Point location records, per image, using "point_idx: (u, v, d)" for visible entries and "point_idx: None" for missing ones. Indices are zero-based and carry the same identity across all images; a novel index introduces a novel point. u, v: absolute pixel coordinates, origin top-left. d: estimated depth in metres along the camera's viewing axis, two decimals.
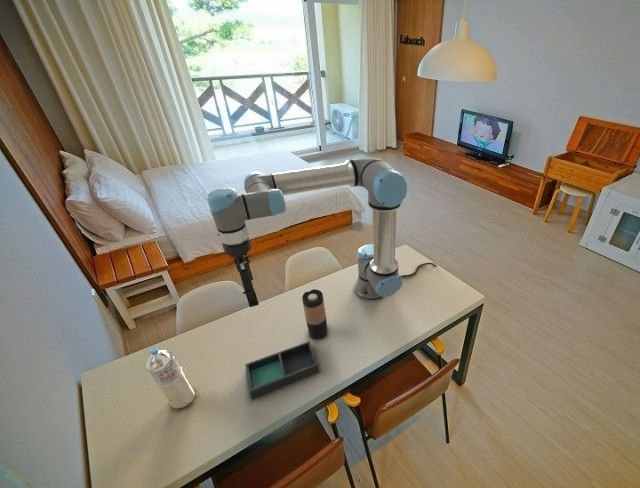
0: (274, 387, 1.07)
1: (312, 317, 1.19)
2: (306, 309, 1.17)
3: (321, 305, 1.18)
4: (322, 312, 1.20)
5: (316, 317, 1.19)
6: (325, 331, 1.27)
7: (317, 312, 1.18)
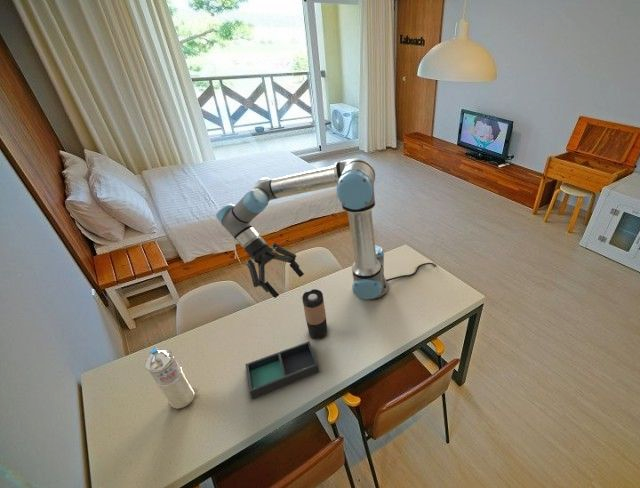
0: (274, 387, 1.07)
1: (312, 317, 1.19)
2: (306, 309, 1.17)
3: (321, 305, 1.18)
4: (322, 312, 1.20)
5: (316, 317, 1.19)
6: (325, 331, 1.27)
7: (317, 312, 1.18)
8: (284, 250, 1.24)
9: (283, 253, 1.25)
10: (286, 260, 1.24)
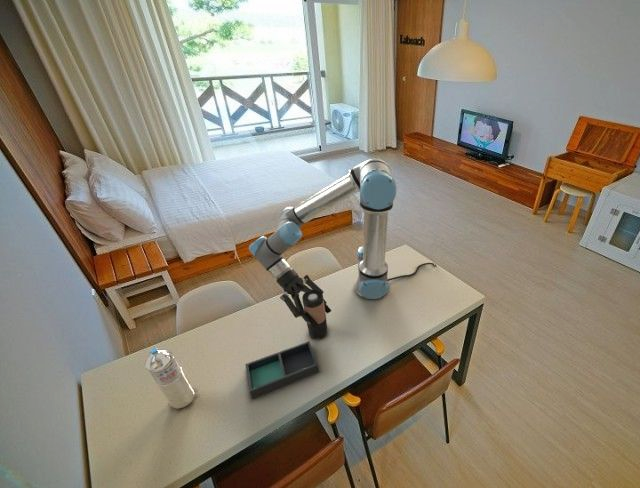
0: (274, 387, 1.07)
1: (312, 317, 1.19)
2: (306, 309, 1.17)
3: (321, 305, 1.18)
4: (322, 312, 1.20)
5: (316, 317, 1.19)
6: (325, 331, 1.27)
7: (317, 312, 1.18)
8: (313, 284, 1.24)
9: (311, 287, 1.25)
10: None
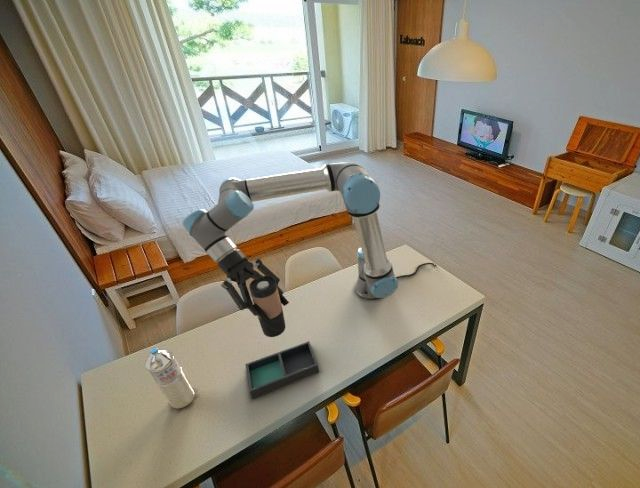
0: (274, 387, 1.07)
1: (262, 309, 0.96)
2: (254, 299, 0.95)
3: (273, 295, 0.96)
4: (275, 304, 0.97)
5: (267, 310, 0.97)
6: (282, 327, 1.04)
7: (268, 304, 0.96)
8: (267, 270, 1.02)
9: (265, 273, 1.03)
10: None
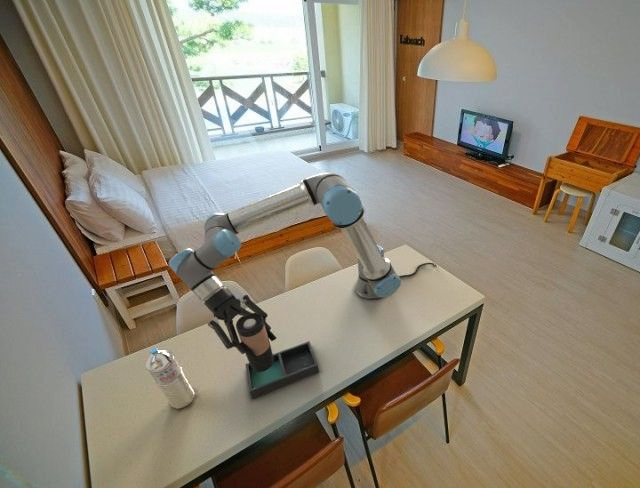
0: (274, 387, 1.07)
1: (249, 347, 0.97)
2: (241, 338, 0.95)
3: (260, 333, 0.96)
4: (262, 341, 0.98)
5: (254, 348, 0.97)
6: (270, 362, 1.05)
7: (255, 342, 0.96)
8: (254, 306, 1.02)
9: (253, 309, 1.03)
10: None
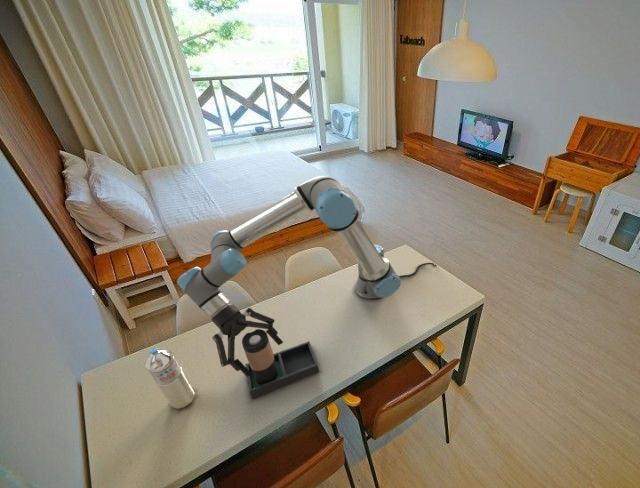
0: (274, 387, 1.07)
1: (254, 362, 1.01)
2: (247, 354, 0.99)
3: (265, 349, 1.00)
4: (266, 356, 1.02)
5: (259, 363, 1.01)
6: (274, 376, 1.09)
7: (260, 358, 1.00)
8: (260, 315, 1.07)
9: (259, 318, 1.08)
10: (262, 327, 1.07)
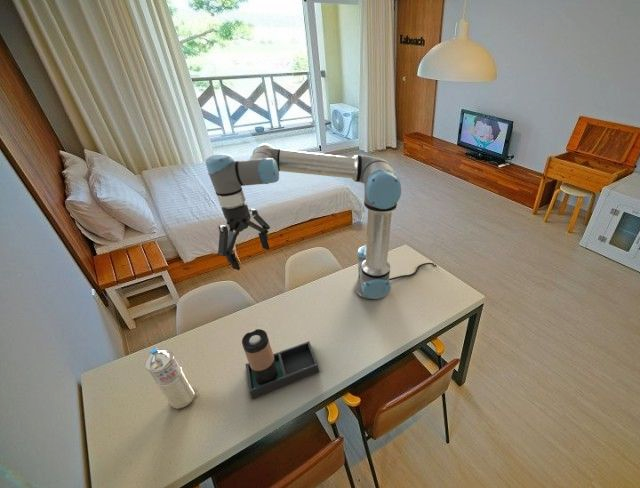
0: (274, 387, 1.07)
1: (254, 362, 1.01)
2: (247, 354, 0.99)
3: (265, 349, 1.00)
4: (266, 356, 1.02)
5: (259, 363, 1.01)
6: (274, 376, 1.09)
7: (260, 358, 1.00)
8: (261, 220, 1.12)
9: (258, 221, 1.13)
10: (258, 230, 1.13)
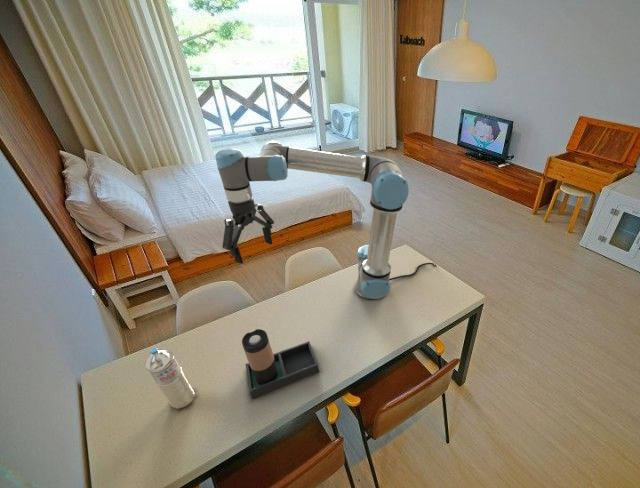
0: (274, 387, 1.07)
1: (254, 362, 1.01)
2: (247, 354, 0.99)
3: (265, 349, 1.00)
4: (266, 356, 1.02)
5: (259, 363, 1.01)
6: (274, 376, 1.09)
7: (260, 358, 1.00)
8: (266, 215, 1.13)
9: (263, 216, 1.13)
10: (262, 224, 1.14)
